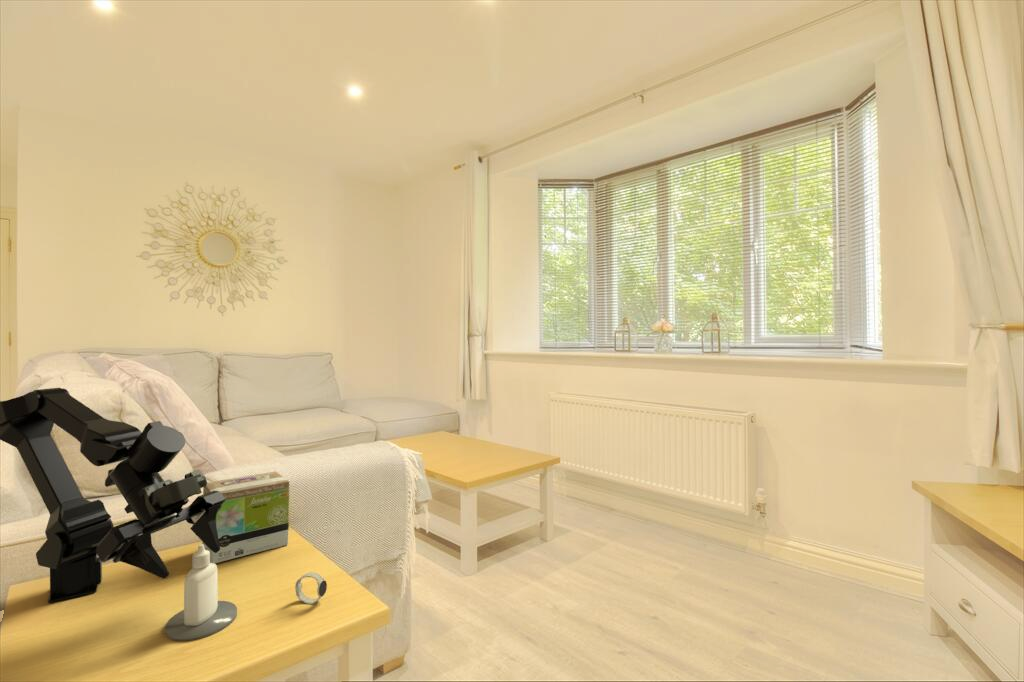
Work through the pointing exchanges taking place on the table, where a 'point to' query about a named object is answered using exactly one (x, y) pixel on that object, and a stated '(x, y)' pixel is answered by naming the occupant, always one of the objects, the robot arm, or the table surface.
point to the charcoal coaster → (214, 624)
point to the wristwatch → (321, 589)
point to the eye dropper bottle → (200, 589)
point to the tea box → (251, 515)
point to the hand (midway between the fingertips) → (193, 563)
